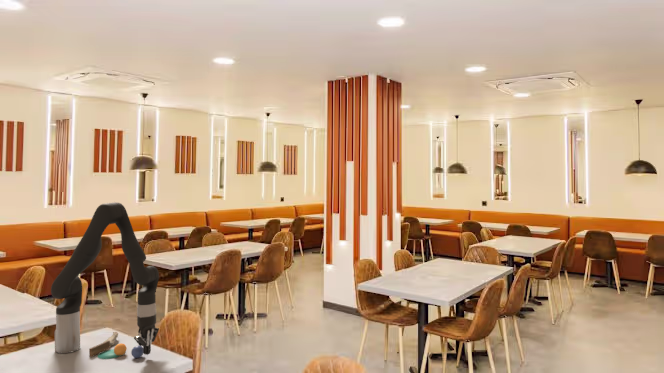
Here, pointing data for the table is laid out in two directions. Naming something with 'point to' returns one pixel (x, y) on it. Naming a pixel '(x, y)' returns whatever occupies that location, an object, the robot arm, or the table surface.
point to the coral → (112, 338)
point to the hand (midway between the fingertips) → (147, 353)
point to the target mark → (108, 354)
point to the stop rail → (99, 348)
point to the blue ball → (137, 351)
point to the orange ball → (120, 349)
